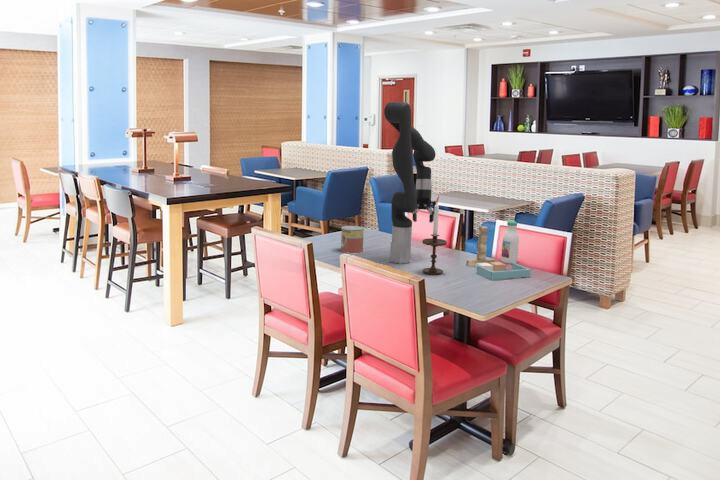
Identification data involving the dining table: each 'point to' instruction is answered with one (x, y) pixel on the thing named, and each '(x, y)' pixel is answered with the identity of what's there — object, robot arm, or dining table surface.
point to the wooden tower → (481, 248)
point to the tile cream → (485, 266)
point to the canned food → (352, 239)
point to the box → (505, 272)
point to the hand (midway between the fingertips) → (423, 222)
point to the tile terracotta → (498, 266)
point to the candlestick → (434, 244)
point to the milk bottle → (510, 244)
